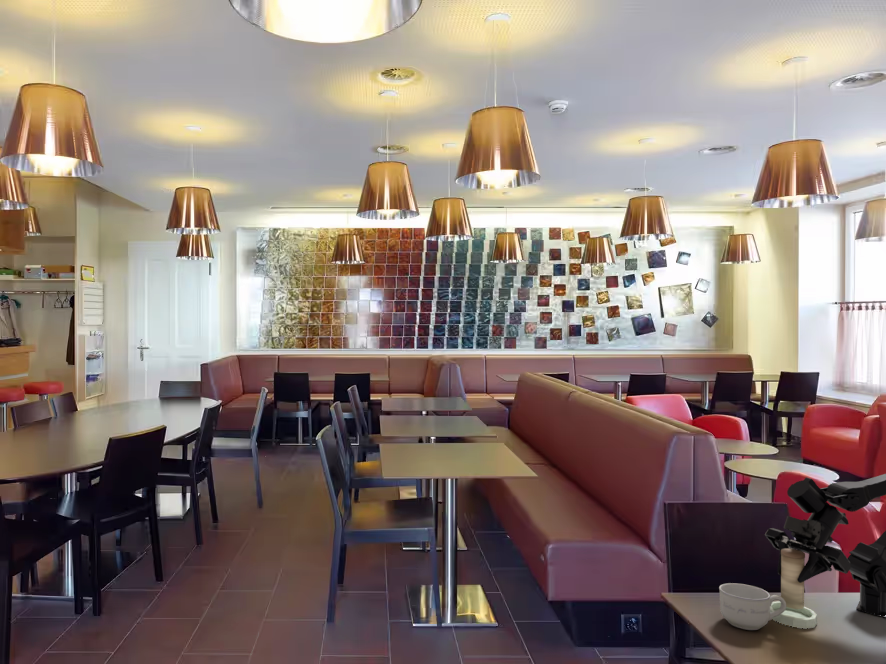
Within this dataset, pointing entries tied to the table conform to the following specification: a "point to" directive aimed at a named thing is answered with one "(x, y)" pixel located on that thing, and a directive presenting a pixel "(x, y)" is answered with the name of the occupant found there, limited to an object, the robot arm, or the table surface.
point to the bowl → (795, 616)
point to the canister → (792, 578)
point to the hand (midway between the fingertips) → (788, 577)
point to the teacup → (747, 605)
